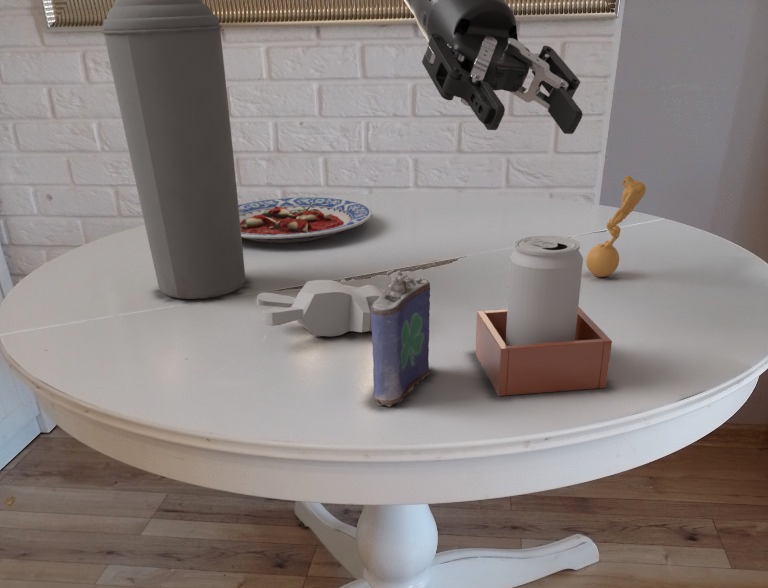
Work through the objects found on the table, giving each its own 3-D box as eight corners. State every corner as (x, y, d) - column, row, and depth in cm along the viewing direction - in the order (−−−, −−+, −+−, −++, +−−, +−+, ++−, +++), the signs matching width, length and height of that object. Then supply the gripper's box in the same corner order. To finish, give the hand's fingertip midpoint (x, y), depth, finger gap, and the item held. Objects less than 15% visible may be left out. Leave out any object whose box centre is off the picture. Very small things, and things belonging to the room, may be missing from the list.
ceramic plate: (312, 259, 111) (310, 237, 109) (174, 241, 122) (170, 220, 120) (402, 218, 129) (401, 199, 127) (274, 205, 140) (272, 187, 139)
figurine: (594, 265, 104) (605, 167, 97) (640, 270, 102) (655, 170, 95) (575, 283, 98) (586, 180, 91) (624, 289, 96) (639, 183, 89)
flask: (393, 409, 70) (390, 288, 64) (364, 403, 71) (358, 285, 65) (434, 370, 77) (434, 258, 71) (407, 366, 78) (405, 256, 72)
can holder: (572, 347, 81) (576, 304, 78) (606, 387, 72) (612, 340, 70) (475, 354, 80) (476, 311, 77) (498, 396, 72) (500, 349, 69)
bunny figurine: (410, 300, 82) (265, 298, 79) (405, 347, 85) (264, 348, 81) (388, 274, 90) (255, 272, 86) (384, 318, 93) (255, 318, 89)
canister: (132, 292, 101) (62, -44, 82) (210, 267, 109) (163, -43, 90) (195, 311, 94) (135, -51, 75) (274, 283, 102) (237, -50, 83)
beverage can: (543, 390, 72) (554, 256, 66) (490, 370, 76) (495, 243, 70) (585, 369, 76) (599, 241, 69) (532, 352, 80) (541, 229, 73)
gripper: (410, -35, 70) (488, 76, 64) (537, -16, 76) (621, 87, 70) (384, 49, 76) (453, 159, 70) (505, 60, 82) (578, 162, 76)
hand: (537, 123), depth 70 cm, fingers open, 8 cm apart
